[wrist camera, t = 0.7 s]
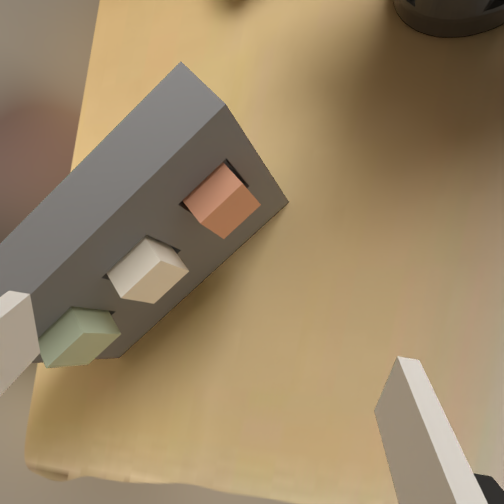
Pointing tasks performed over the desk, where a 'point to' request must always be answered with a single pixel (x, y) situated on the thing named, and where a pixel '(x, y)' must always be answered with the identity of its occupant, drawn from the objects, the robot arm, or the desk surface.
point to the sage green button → (77, 337)
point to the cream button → (147, 271)
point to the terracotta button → (221, 201)
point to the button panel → (136, 210)
